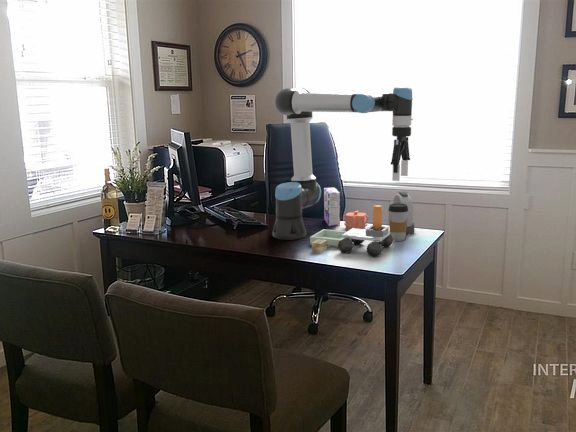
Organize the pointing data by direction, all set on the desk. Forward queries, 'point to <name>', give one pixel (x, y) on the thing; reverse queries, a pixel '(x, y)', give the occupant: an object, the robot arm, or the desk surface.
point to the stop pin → (377, 217)
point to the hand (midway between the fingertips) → (400, 178)
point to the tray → (328, 237)
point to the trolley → (360, 235)
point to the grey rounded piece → (406, 199)
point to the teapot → (355, 220)
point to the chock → (319, 245)
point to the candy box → (332, 206)
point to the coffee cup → (398, 221)
